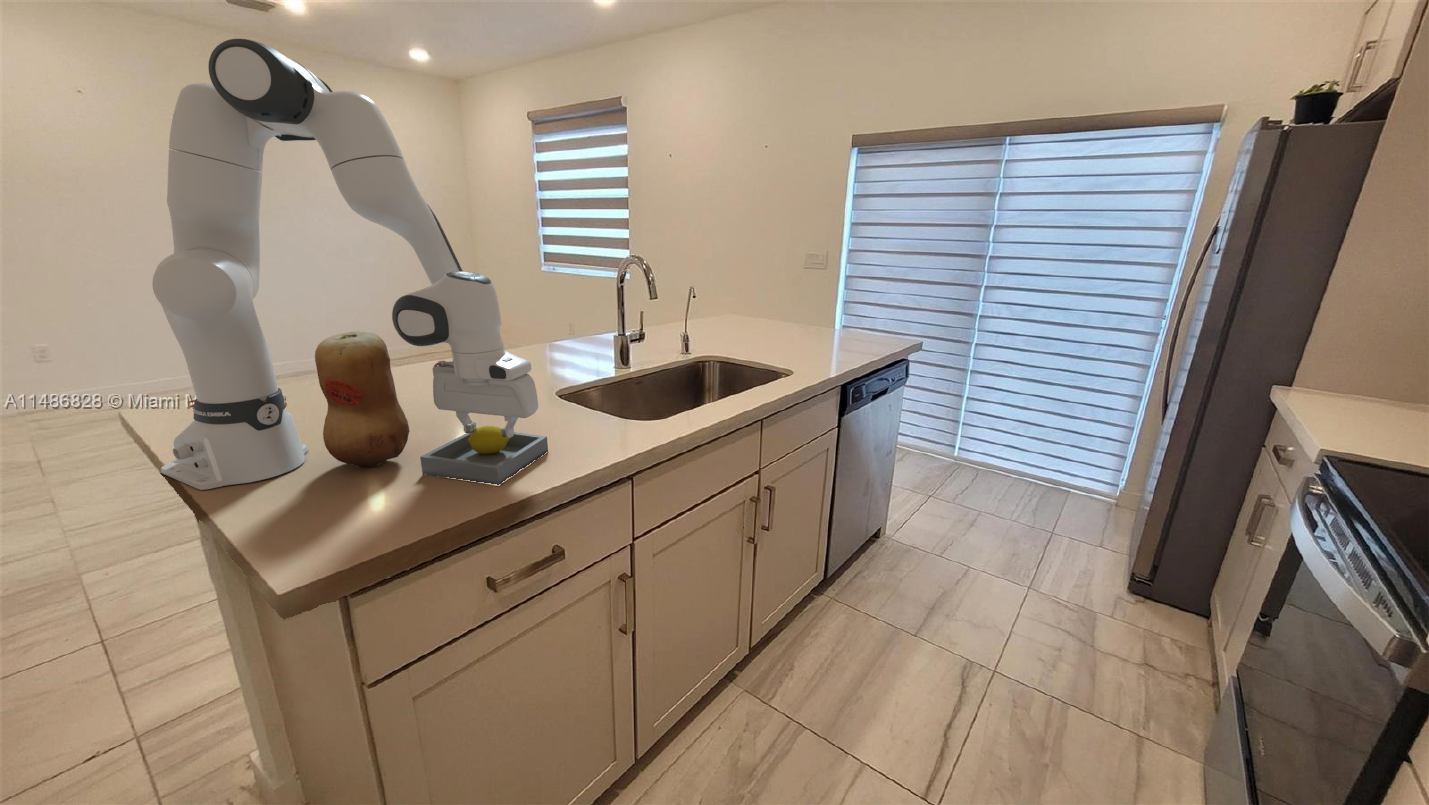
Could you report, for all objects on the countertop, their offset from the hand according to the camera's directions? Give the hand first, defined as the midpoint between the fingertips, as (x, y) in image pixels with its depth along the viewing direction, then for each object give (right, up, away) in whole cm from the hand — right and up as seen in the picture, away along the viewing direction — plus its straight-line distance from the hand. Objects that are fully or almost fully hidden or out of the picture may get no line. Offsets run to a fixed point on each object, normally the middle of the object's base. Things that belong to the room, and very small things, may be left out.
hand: (489, 434), depth 104 cm
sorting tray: (-1, -6, +2) cm, 6 cm away
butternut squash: (-22, -6, 0) cm, 23 cm away
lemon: (-6, -1, +3) cm, 7 cm away
